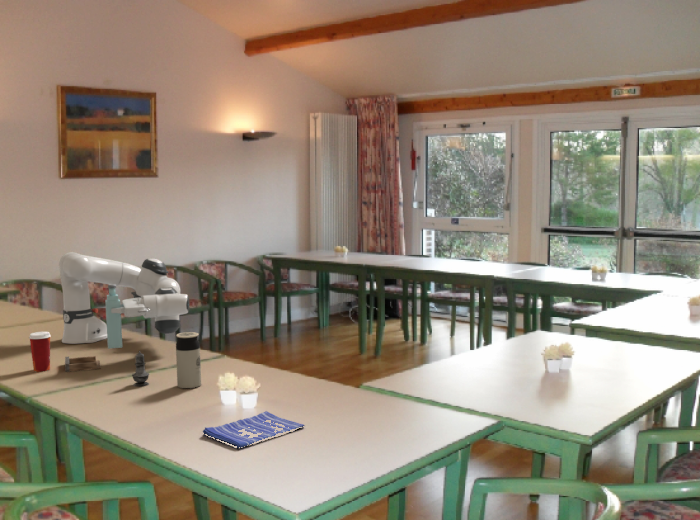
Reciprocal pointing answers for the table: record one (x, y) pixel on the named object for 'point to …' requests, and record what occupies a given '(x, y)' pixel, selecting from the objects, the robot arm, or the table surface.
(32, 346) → the paper cup
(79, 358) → the brown square frame
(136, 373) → the salt shaker
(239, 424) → the dish towel
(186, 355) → the travel mug
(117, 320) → the bottle
